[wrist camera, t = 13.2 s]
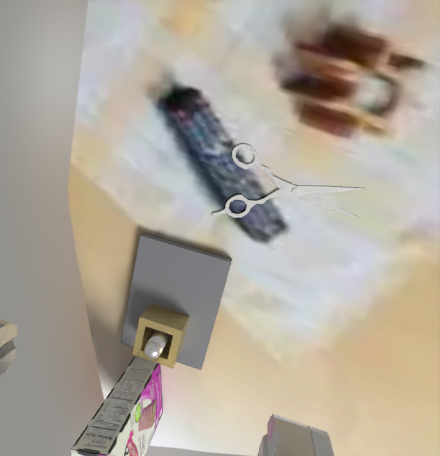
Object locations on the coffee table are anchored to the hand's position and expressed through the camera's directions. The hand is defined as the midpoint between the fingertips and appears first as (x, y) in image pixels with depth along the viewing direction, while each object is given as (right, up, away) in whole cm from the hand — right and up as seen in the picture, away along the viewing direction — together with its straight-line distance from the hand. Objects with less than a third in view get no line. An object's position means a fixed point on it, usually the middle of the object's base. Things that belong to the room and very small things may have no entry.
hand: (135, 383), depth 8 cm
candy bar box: (-10, -23, +39) cm, 46 cm away
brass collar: (-6, -11, +34) cm, 36 cm away
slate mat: (-5, -7, +34) cm, 35 cm away
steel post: (-6, -11, +34) cm, 36 cm away
